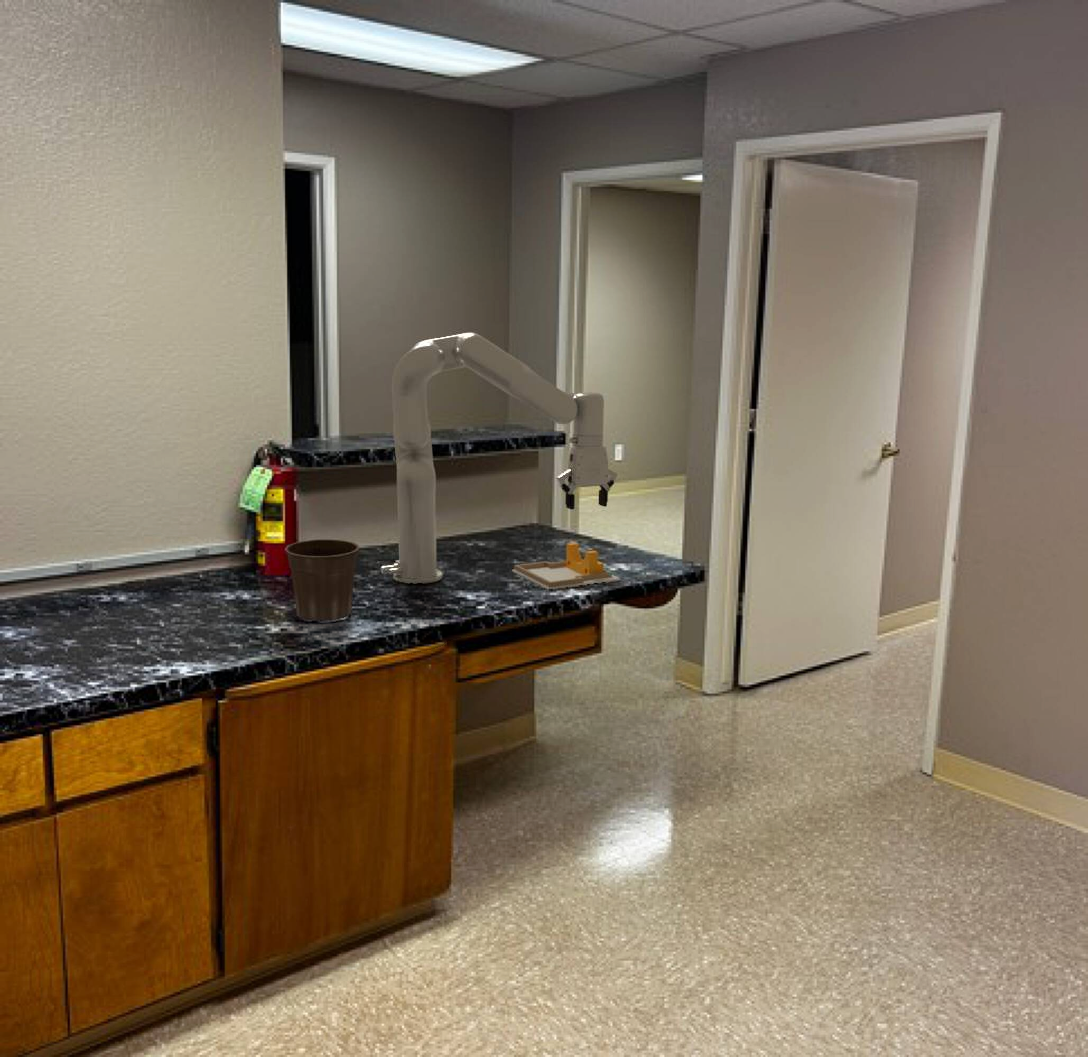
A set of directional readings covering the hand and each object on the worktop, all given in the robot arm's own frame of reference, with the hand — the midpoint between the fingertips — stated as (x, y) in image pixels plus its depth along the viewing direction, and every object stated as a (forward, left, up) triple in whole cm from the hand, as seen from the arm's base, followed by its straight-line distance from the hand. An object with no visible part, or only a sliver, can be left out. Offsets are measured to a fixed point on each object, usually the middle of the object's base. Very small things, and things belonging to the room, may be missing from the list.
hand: (586, 507), depth 279 cm
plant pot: (-72, -7, -18) cm, 75 cm away
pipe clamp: (0, 0, -17) cm, 17 cm away
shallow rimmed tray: (-6, 0, -18) cm, 19 cm away
